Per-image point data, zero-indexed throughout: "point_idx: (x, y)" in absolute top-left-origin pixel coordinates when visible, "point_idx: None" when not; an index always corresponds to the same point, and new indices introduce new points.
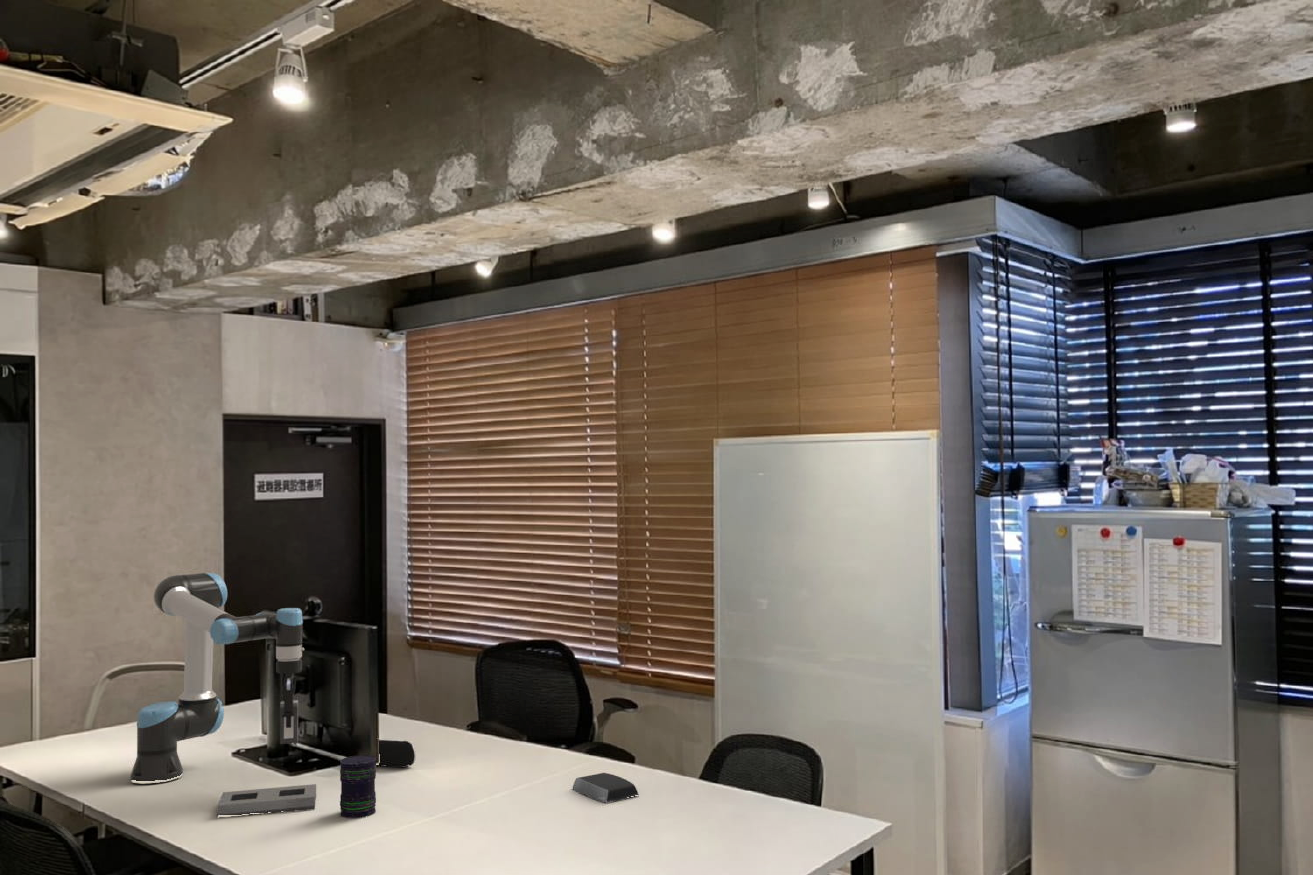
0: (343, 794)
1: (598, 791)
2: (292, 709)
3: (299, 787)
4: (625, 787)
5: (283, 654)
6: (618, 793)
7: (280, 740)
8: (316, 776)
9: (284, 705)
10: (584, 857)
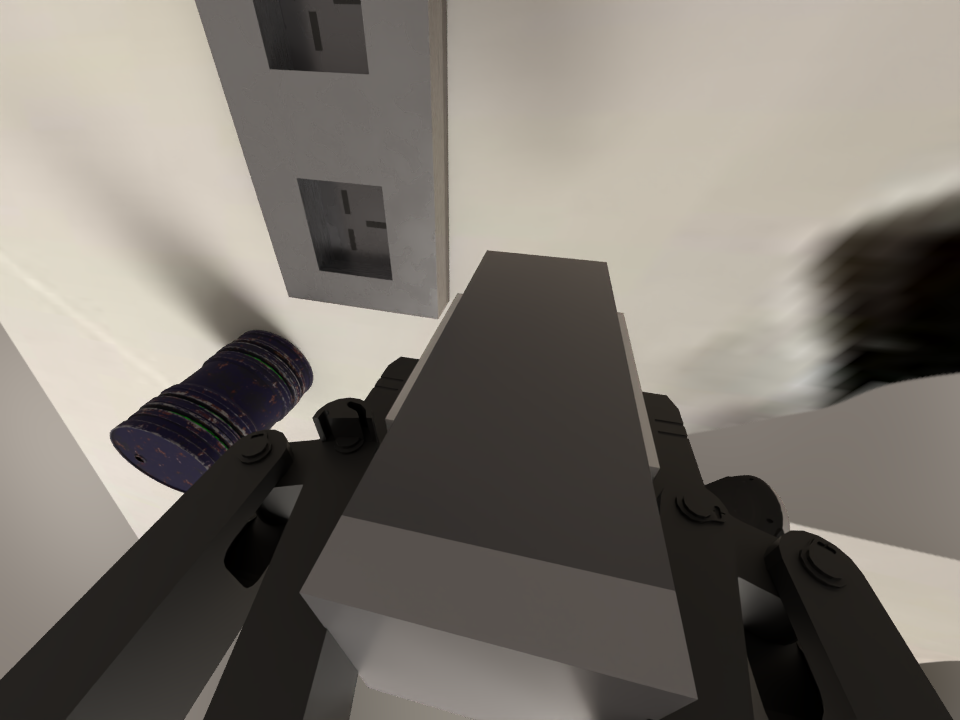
0: (204, 365)
1: None
2: (229, 556)
3: (408, 263)
4: None
5: None
6: None
7: (482, 263)
8: (719, 330)
9: (104, 579)
10: (130, 502)
